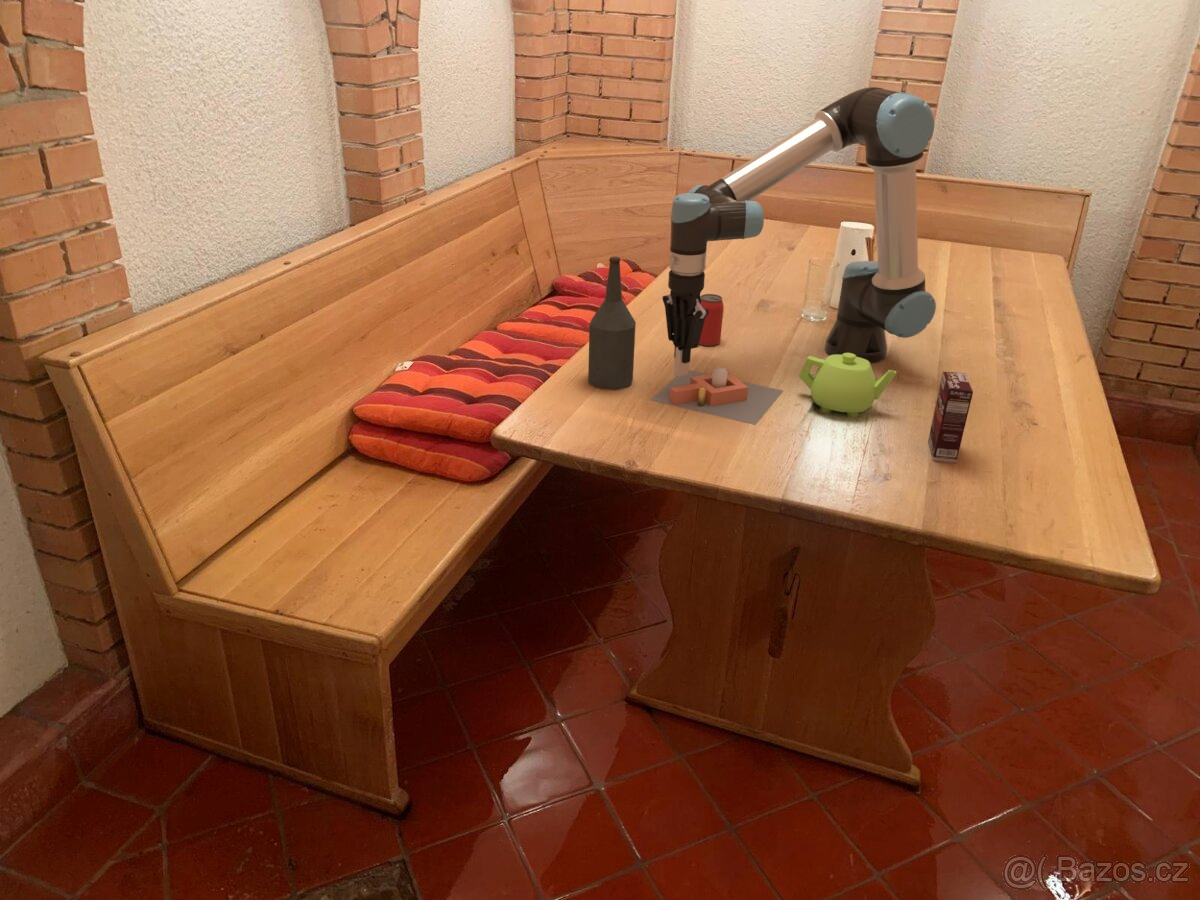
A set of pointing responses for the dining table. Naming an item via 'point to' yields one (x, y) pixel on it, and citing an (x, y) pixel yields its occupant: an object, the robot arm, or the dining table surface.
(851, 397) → the teapot
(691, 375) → the board
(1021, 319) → the dining table surface
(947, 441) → the supplement box
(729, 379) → the square nut
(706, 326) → the beer can
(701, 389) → the gold metal capsule
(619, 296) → the bottle
